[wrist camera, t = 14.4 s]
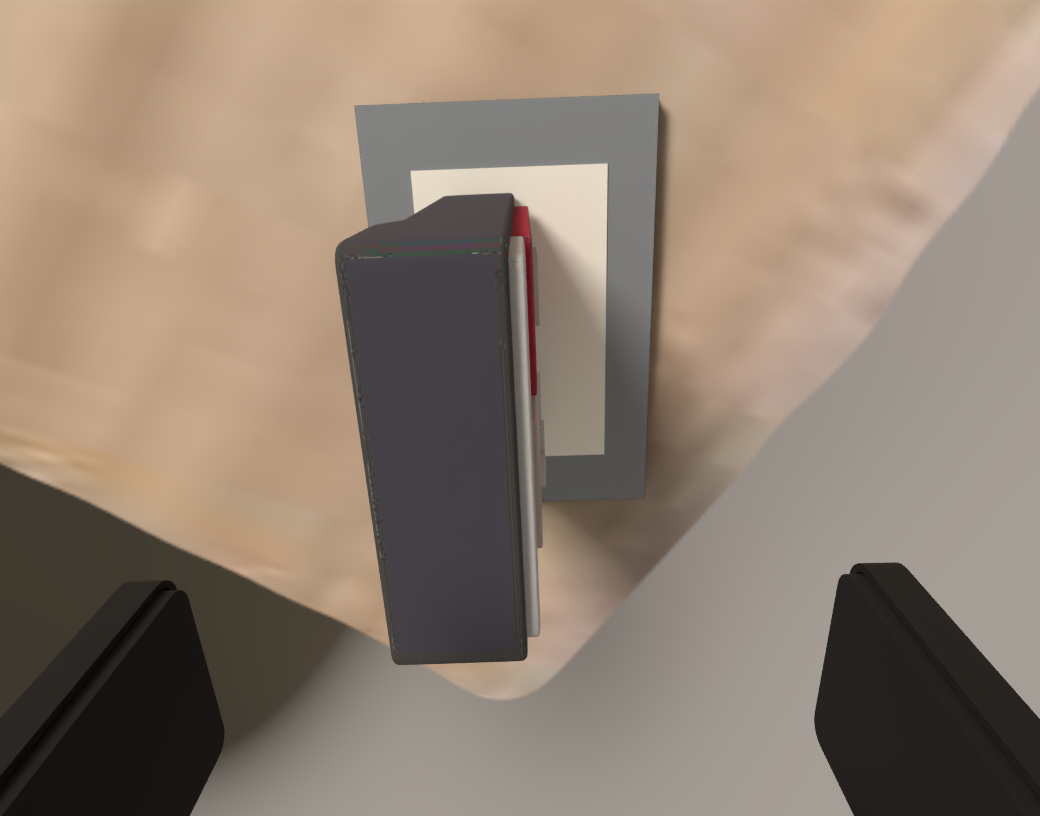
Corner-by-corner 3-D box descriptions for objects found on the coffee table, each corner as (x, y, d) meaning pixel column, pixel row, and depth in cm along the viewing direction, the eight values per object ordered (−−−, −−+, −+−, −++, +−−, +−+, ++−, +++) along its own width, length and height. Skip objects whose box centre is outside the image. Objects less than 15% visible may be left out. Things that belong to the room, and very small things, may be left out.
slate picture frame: (654, 95, 27) (659, 93, 26) (640, 488, 33) (644, 499, 32) (360, 107, 27) (353, 105, 26) (404, 495, 34) (400, 506, 33)
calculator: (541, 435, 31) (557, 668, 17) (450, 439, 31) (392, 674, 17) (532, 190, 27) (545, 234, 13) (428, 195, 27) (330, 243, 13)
